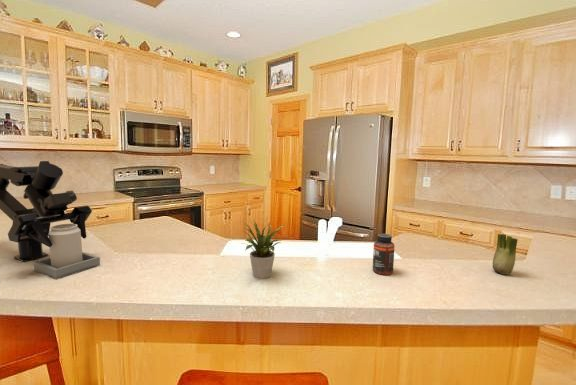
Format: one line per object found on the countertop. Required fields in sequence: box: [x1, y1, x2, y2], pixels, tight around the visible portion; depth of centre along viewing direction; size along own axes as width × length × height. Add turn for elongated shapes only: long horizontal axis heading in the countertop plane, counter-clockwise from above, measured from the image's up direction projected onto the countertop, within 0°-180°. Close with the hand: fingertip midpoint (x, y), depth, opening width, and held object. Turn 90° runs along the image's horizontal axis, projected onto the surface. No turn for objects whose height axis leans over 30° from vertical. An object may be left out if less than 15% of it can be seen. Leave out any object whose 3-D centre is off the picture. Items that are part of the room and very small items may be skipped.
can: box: [48, 223, 83, 269], centre depth 88 cm, size 8×8×12 cm
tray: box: [33, 251, 101, 280], centre depth 89 cm, size 12×12×2 cm
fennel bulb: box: [492, 233, 518, 276], centre depth 92 cm, size 6×5×12 cm
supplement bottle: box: [372, 233, 395, 276], centre depth 90 cm, size 6×6×11 cm
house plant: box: [239, 219, 285, 279], centre depth 86 cm, size 14×14×16 cm
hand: (68, 241), depth 87 cm, fingers open, 9 cm apart
